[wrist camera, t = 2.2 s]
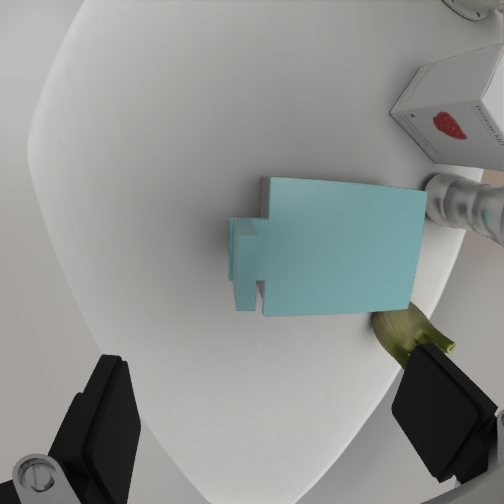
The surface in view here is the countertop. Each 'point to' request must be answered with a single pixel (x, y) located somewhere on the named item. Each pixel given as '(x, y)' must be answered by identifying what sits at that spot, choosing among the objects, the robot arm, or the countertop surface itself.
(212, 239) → the countertop surface
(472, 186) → the plastic bottle
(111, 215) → the countertop surface
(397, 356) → the fennel bulb
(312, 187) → the lid
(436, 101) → the supplement box
